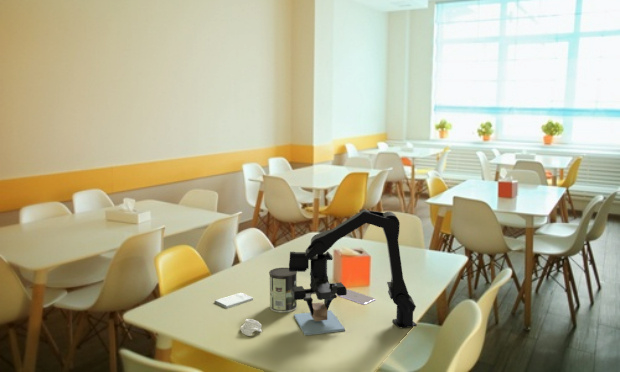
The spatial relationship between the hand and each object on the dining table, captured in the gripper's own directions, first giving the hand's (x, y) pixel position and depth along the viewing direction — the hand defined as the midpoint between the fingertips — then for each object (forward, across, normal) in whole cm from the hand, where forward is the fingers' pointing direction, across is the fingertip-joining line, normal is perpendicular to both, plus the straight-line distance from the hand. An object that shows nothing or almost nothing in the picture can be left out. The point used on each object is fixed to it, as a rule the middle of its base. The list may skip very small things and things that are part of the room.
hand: (318, 314), depth 181 cm
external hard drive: (+4, -26, +28) cm, 39 cm away
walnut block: (+1, 0, 0) cm, 1 cm away
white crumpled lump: (+4, -24, 0) cm, 24 cm away
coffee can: (+4, -9, +17) cm, 20 cm away
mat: (+3, 0, 0) cm, 3 cm away
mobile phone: (+4, +21, +20) cm, 29 cm away
